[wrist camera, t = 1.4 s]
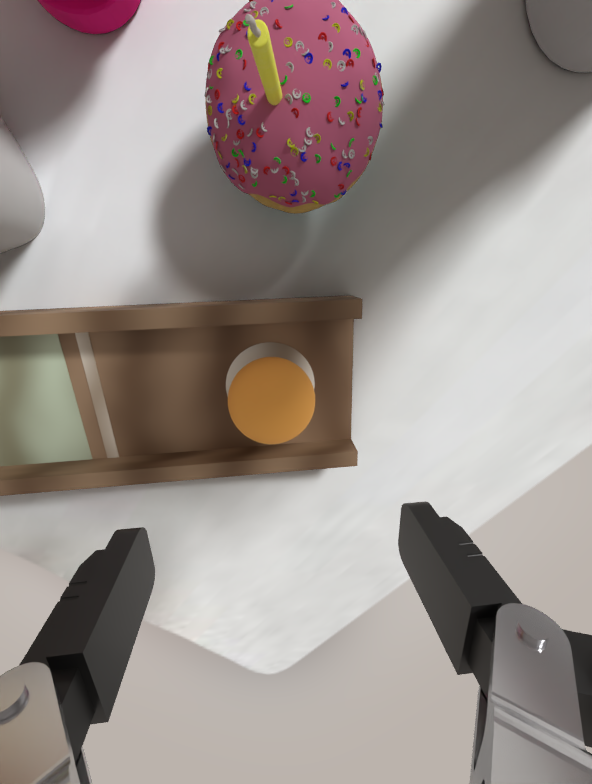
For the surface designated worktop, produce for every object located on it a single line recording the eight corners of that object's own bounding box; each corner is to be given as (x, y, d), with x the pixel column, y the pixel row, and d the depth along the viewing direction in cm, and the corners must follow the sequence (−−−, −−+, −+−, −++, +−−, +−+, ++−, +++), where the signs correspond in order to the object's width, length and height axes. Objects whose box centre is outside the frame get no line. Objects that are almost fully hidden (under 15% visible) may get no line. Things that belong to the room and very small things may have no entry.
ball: (308, 345, 24) (321, 367, 19) (310, 418, 26) (322, 457, 20) (227, 350, 23) (217, 374, 18) (235, 424, 25) (228, 465, 20)
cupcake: (245, 240, 22) (229, 210, 11) (192, 82, 19) (94, -184, 8) (371, 197, 22) (487, 123, 11) (337, 31, 19) (449, -314, 8)
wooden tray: (350, 295, 24) (372, 302, 19) (347, 445, 28) (364, 481, 23) (-114, 316, 22) (-217, 329, 17) (-42, 476, 26) (-110, 523, 21)
